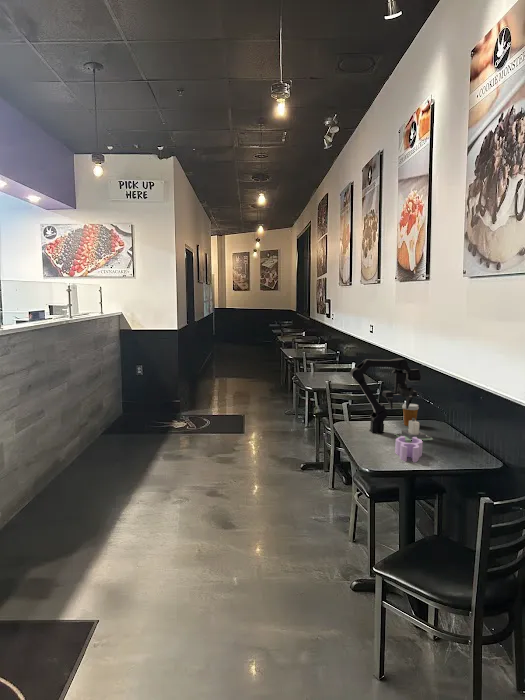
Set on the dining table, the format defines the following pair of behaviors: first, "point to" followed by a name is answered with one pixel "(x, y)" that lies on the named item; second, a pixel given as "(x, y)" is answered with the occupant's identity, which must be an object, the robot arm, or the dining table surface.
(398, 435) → the circuit board
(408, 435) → the header socket
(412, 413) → the disposable coffee cup
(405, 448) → the clip
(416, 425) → the keyed plug
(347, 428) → the dining table surface
